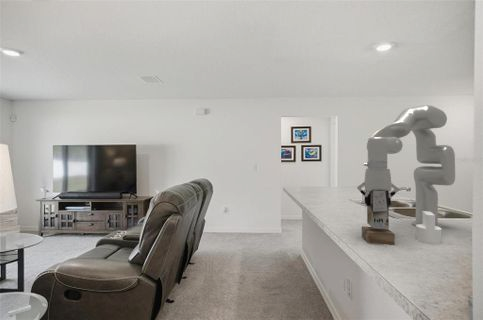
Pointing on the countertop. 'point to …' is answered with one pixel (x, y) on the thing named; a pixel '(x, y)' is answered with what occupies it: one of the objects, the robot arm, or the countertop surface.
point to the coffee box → (378, 209)
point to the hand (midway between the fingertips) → (377, 205)
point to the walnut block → (378, 236)
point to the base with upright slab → (428, 229)
